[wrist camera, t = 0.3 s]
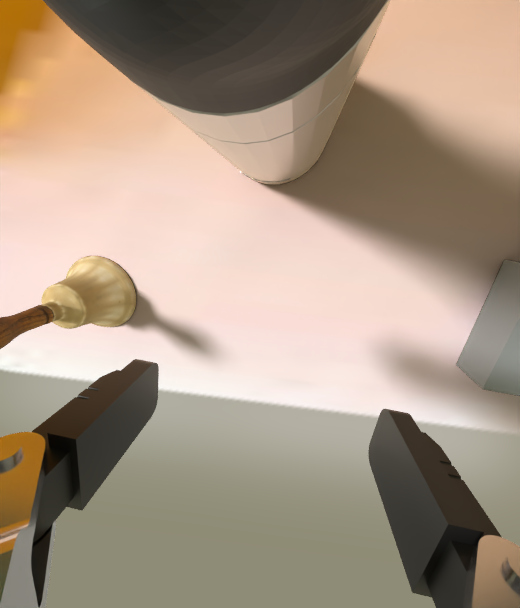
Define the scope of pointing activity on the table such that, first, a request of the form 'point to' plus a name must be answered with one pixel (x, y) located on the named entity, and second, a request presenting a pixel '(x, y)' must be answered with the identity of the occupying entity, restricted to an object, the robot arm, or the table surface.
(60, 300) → the hand bell
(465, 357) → the gray board
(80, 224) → the table surface
